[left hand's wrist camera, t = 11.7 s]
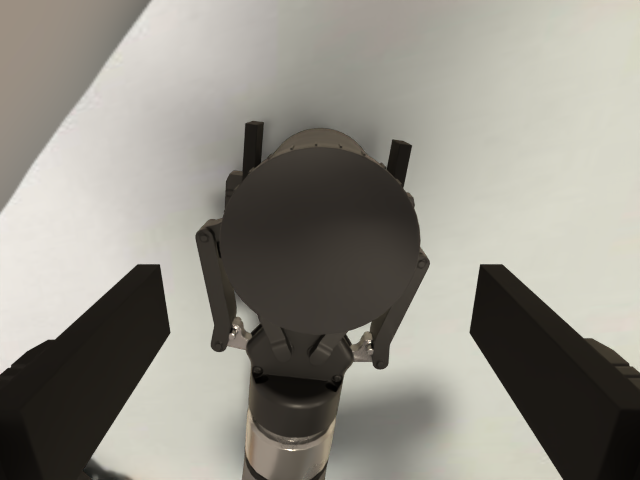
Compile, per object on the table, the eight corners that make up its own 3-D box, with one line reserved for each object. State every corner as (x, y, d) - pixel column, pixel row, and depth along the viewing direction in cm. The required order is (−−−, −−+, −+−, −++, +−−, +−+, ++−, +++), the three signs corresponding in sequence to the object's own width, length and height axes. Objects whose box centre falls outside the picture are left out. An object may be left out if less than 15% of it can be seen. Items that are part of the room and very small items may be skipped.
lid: (242, 325, 21) (236, 343, 20) (209, 151, 18) (198, 156, 17) (414, 311, 21) (422, 328, 20) (412, 131, 18) (421, 134, 16)
